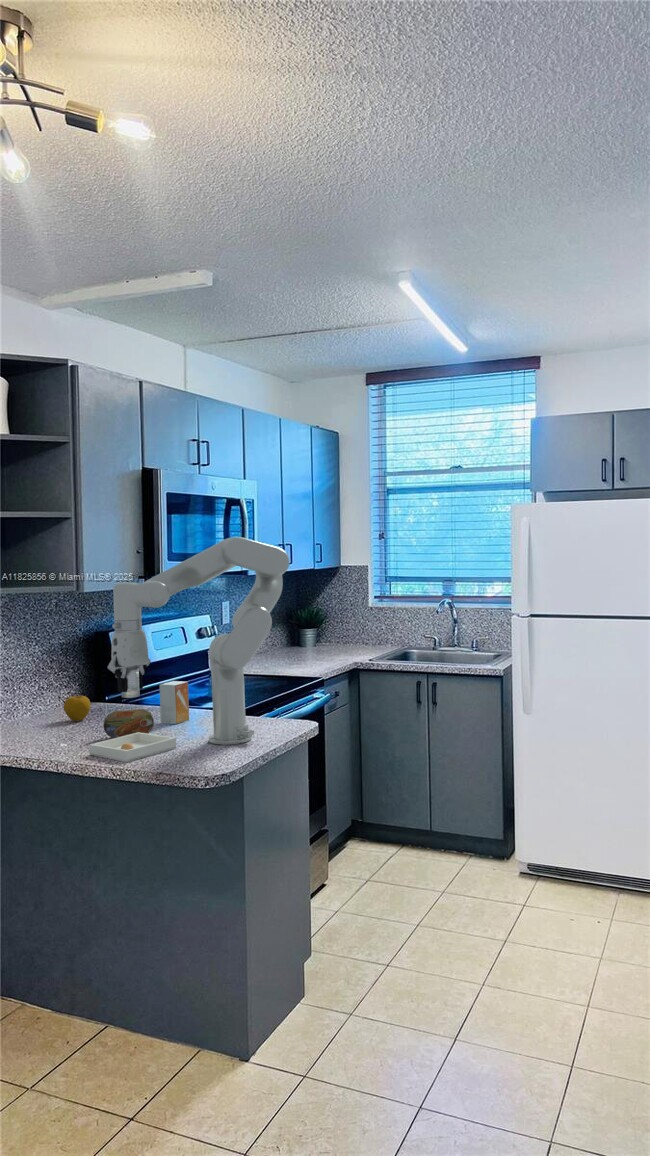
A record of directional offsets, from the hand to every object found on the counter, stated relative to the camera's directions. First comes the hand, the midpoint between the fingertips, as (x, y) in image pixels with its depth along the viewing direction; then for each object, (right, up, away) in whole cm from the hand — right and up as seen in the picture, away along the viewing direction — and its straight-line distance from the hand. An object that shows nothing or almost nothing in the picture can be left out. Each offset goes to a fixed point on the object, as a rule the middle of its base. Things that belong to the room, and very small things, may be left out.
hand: (130, 689), depth 239 cm
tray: (+1, -18, +1) cm, 18 cm away
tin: (-5, -18, +21) cm, 28 cm away
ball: (+1, -16, -7) cm, 17 cm away
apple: (-29, -17, +49) cm, 60 cm away
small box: (+5, -17, +42) cm, 45 cm away
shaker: (0, -2, 0) cm, 2 cm away
